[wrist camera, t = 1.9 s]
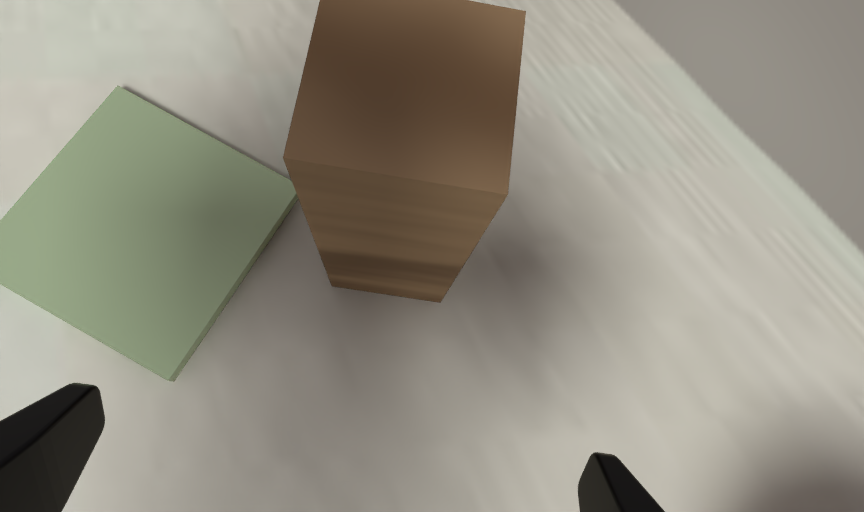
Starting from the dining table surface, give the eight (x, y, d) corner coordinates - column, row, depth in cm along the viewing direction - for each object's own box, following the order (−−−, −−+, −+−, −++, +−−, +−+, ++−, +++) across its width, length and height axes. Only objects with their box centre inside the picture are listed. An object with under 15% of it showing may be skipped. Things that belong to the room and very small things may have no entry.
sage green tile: (304, 196, 26) (301, 186, 24) (178, 381, 23) (168, 380, 22) (129, 99, 26) (117, 85, 25) (-16, 270, 23) (-37, 262, 22)
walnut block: (440, 302, 24) (507, 194, 12) (332, 286, 24) (282, 158, 11) (453, 202, 26) (525, 11, 13) (351, 185, 25) (325, -26, 13)
